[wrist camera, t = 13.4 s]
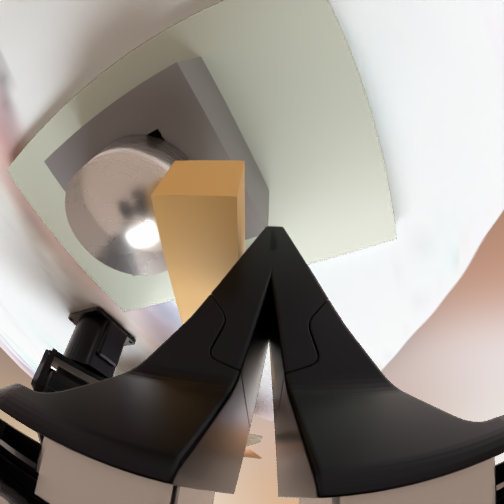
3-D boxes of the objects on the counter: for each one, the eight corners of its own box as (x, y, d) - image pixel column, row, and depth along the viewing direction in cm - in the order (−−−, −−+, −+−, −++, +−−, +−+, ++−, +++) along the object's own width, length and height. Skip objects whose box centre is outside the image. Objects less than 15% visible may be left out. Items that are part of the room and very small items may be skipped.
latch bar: (251, 370, 16) (249, 401, 14) (206, 366, 16) (201, 397, 14) (255, 160, 8) (251, 196, 6) (165, 160, 8) (139, 195, 6)
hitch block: (127, 303, 26) (100, 375, 20) (13, 164, 16) (-51, 224, 10) (392, 229, 19) (431, 322, 13) (310, -25, 9) (346, -81, 3)
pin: (157, 211, 18) (118, 286, 13) (109, 140, 14) (44, 198, 10) (234, 179, 16) (216, 255, 11) (187, 93, 13) (135, 130, 8)
